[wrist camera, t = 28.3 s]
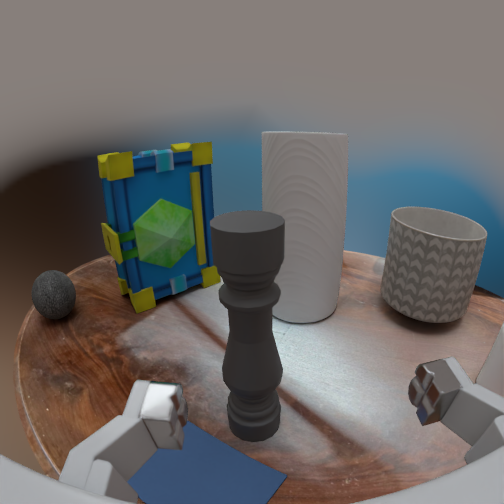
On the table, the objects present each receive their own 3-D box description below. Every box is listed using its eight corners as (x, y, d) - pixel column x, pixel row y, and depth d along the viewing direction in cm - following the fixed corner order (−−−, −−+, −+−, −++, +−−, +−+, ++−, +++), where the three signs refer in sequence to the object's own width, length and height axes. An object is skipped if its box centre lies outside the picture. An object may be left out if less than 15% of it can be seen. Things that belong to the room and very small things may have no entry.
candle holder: (252, 450, 28) (242, 240, 19) (218, 420, 33) (190, 221, 23) (290, 421, 32) (305, 219, 23) (255, 396, 36) (250, 206, 27)
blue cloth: (219, 556, 16) (218, 555, 16) (119, 479, 23) (118, 477, 23) (287, 476, 25) (287, 475, 25) (188, 421, 32) (187, 420, 32)
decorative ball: (40, 333, 46) (23, 289, 42) (41, 310, 54) (27, 269, 50) (83, 321, 52) (69, 276, 48) (79, 299, 59) (67, 258, 55)
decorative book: (114, 292, 62) (90, 156, 51) (200, 263, 76) (190, 142, 64) (135, 322, 52) (105, 156, 40) (233, 283, 65) (226, 141, 54)
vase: (347, 297, 58) (360, 134, 46) (317, 335, 48) (330, 132, 36) (286, 280, 66) (287, 131, 54) (247, 310, 56) (241, 132, 43)
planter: (465, 344, 40) (497, 248, 33) (369, 324, 50) (386, 226, 42) (459, 294, 55) (477, 217, 48) (384, 279, 65) (395, 201, 57)
